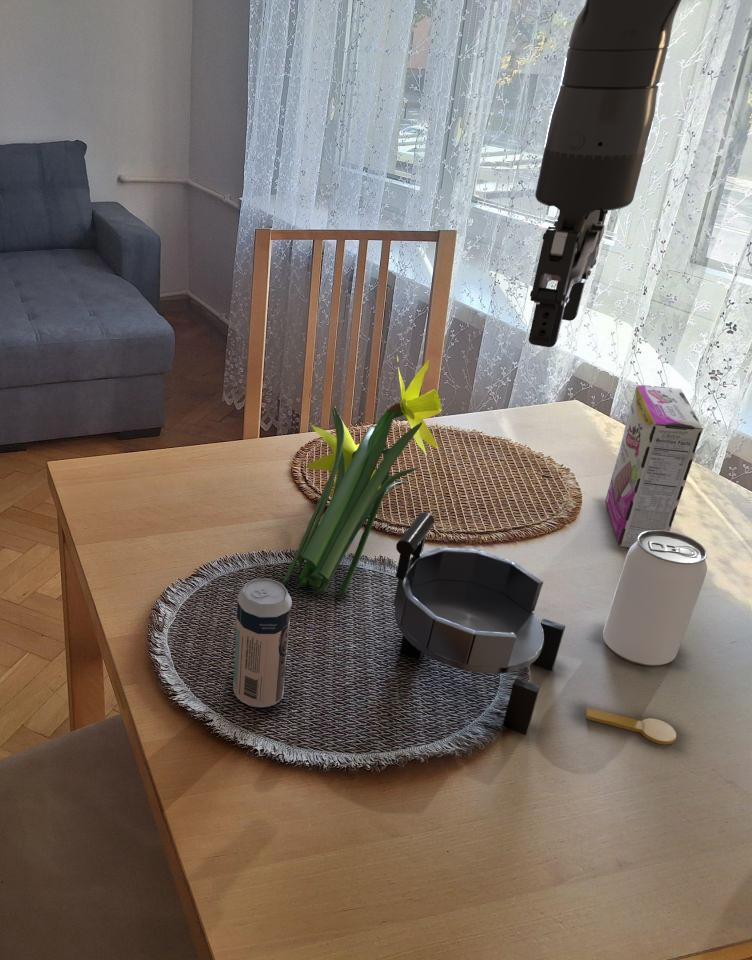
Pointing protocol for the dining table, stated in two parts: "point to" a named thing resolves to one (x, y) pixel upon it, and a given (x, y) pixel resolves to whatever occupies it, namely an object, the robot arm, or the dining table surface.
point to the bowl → (466, 605)
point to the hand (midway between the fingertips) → (552, 331)
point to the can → (655, 597)
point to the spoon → (636, 725)
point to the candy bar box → (652, 462)
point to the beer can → (261, 642)
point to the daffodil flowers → (358, 485)
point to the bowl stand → (522, 690)
